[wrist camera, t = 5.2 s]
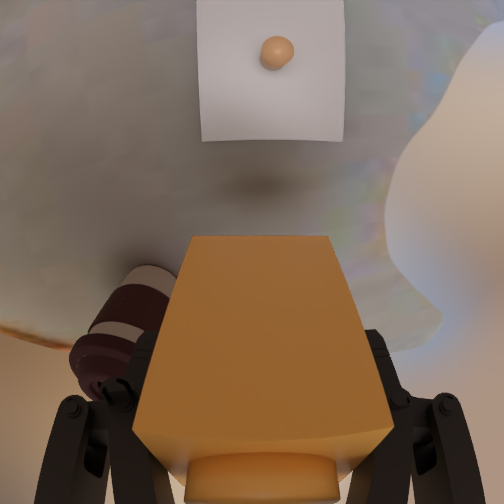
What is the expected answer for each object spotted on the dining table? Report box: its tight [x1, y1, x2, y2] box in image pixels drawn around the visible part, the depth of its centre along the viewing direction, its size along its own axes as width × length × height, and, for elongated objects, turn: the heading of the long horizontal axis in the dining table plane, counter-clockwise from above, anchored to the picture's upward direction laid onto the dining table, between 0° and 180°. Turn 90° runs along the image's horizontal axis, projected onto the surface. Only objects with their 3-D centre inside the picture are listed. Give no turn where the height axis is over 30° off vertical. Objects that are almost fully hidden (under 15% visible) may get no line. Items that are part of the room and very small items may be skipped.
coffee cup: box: [69, 265, 177, 401], centre depth 27 cm, size 10×10×15 cm
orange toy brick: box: [132, 236, 394, 504], centre depth 10 cm, size 6×6×10 cm
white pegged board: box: [197, 0, 345, 142], centre depth 18 cm, size 12×14×7 cm
